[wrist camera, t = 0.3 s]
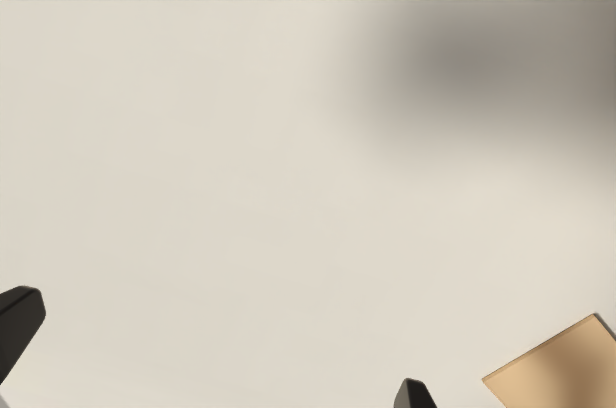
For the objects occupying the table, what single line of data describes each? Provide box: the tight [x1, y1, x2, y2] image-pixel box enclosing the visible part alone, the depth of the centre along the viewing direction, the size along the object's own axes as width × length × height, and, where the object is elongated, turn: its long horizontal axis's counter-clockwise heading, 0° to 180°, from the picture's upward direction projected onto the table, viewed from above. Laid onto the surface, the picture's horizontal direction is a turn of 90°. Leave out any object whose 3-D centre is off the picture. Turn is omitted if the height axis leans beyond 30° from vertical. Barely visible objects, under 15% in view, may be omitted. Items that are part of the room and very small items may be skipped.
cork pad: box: [482, 314, 616, 408], centre depth 26 cm, size 8×8×1 cm
